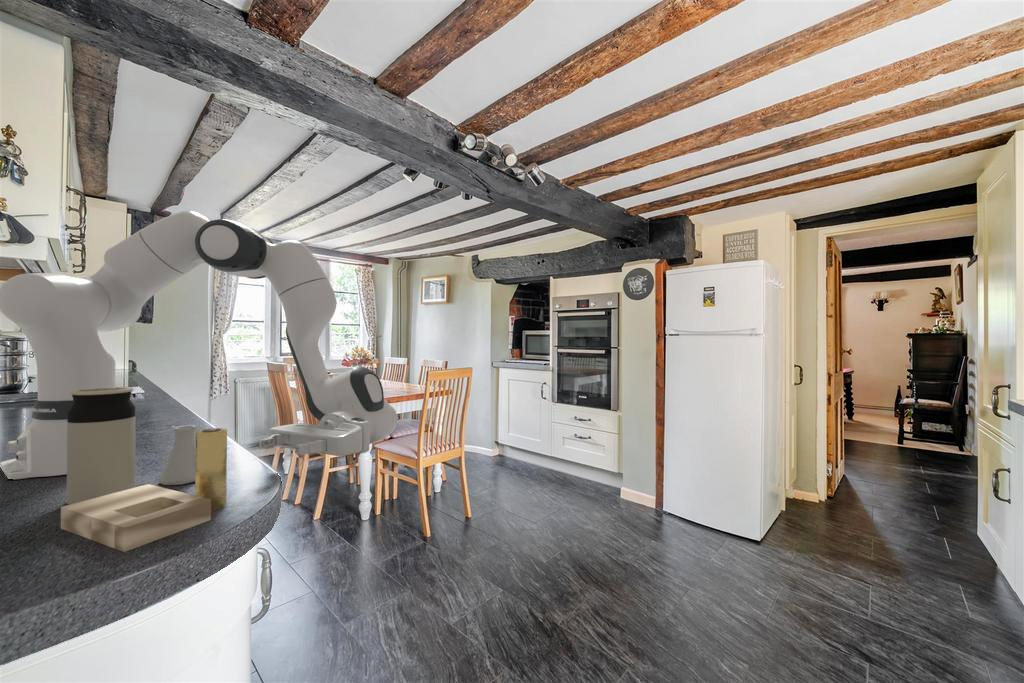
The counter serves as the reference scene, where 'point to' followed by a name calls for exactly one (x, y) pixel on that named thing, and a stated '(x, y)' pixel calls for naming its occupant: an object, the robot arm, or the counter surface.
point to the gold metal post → (211, 466)
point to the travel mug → (100, 443)
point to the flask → (181, 458)
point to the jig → (135, 516)
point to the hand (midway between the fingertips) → (279, 447)
